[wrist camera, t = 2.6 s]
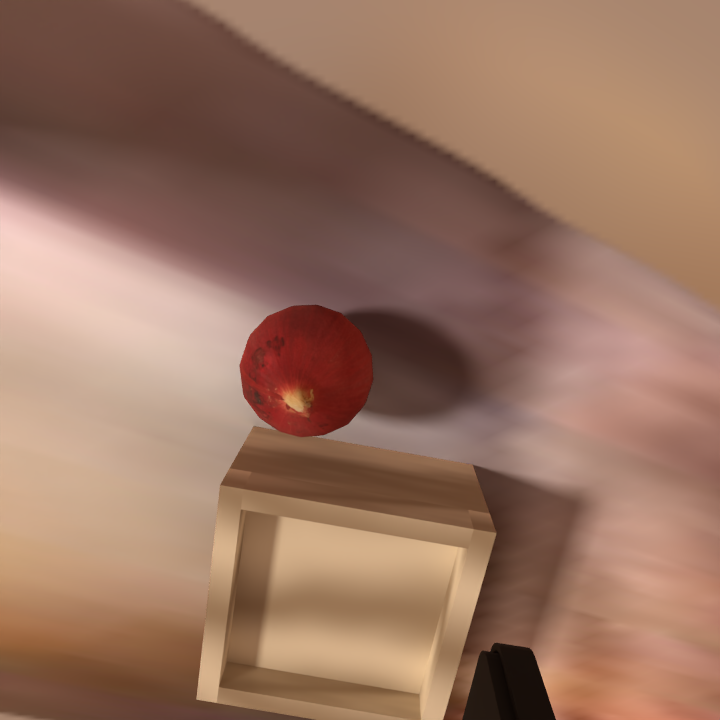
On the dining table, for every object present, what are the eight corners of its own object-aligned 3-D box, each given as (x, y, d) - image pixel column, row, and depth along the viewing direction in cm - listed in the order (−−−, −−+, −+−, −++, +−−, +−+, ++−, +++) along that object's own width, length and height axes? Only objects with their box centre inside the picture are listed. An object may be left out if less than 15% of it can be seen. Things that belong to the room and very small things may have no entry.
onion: (267, 404, 28) (225, 479, 20) (253, 296, 27) (201, 334, 19) (377, 397, 28) (376, 472, 20) (369, 288, 26) (364, 323, 19)
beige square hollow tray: (254, 424, 29) (220, 484, 23) (471, 462, 29) (496, 533, 23) (232, 603, 32) (196, 699, 26) (426, 636, 32) (437, 739, 26)
